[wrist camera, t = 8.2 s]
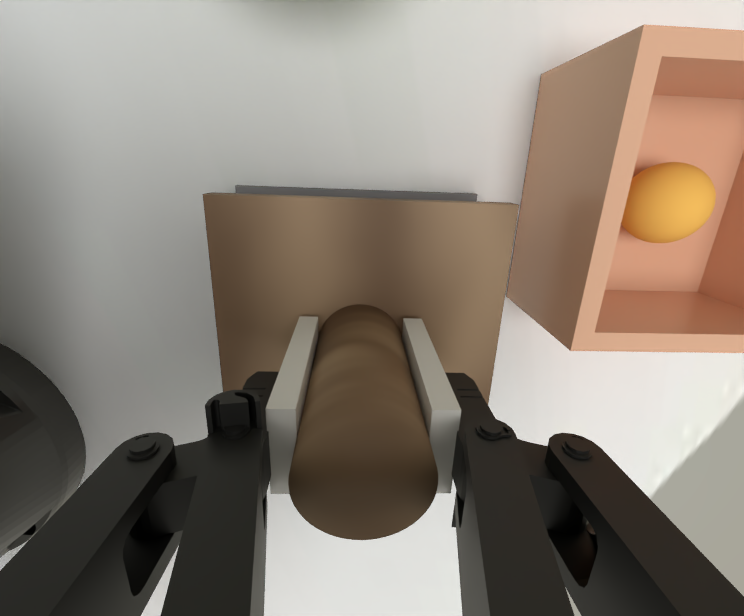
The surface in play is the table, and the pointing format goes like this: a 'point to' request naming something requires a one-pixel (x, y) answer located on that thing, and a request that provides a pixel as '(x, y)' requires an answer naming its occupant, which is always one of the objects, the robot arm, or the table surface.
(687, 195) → the clementine
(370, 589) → the table surface
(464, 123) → the table surface
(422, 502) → the lid
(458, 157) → the table surface
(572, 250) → the pink open box
